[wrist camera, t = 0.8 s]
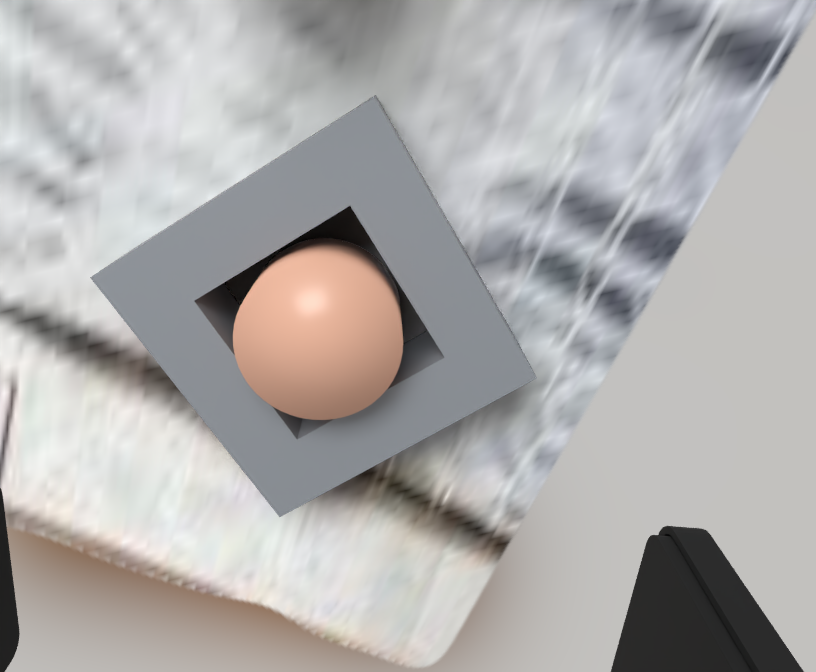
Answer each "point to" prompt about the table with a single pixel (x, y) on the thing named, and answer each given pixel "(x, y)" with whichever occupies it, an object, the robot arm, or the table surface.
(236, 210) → the button base
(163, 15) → the table surface
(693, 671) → the robot arm
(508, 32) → the table surface
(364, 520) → the table surface
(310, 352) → the button
